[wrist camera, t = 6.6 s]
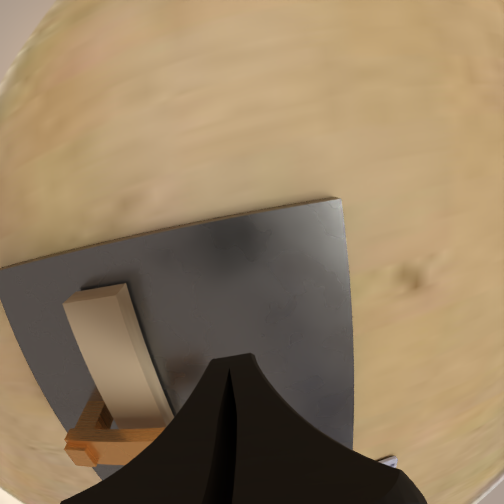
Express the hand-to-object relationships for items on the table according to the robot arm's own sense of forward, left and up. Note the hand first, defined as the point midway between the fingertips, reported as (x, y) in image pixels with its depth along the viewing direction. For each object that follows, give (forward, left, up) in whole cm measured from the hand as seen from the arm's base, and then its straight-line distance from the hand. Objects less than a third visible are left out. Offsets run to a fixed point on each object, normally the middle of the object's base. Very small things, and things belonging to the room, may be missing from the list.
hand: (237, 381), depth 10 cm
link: (-5, +6, -6) cm, 10 cm away
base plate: (-5, +4, -7) cm, 10 cm away
